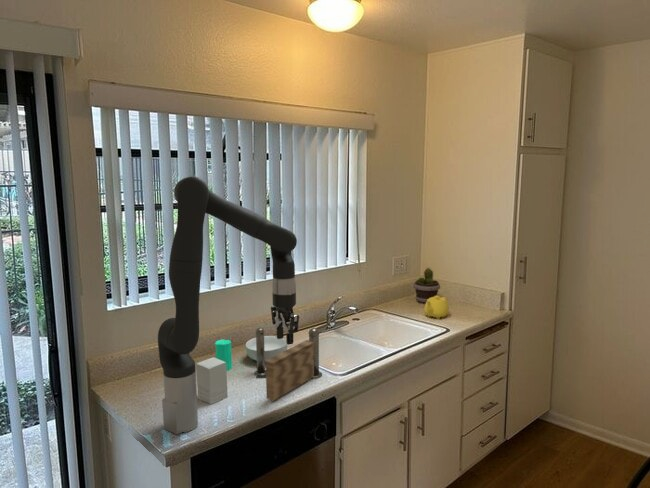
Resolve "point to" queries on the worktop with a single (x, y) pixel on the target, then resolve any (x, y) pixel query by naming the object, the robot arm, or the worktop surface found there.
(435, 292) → the flowerpot
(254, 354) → the cereal bowl
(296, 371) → the gate
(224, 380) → the supplement box
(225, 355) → the candle
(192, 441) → the worktop surface
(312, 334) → the gate posts
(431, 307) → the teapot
